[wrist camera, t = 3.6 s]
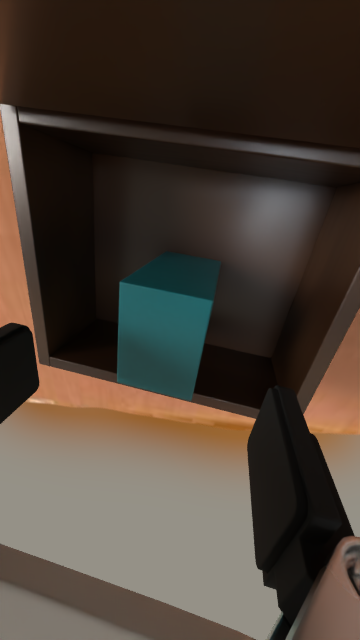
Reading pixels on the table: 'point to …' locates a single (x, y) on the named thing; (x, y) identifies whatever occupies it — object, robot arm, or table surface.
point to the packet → (165, 323)
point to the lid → (190, 63)
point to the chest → (188, 243)
